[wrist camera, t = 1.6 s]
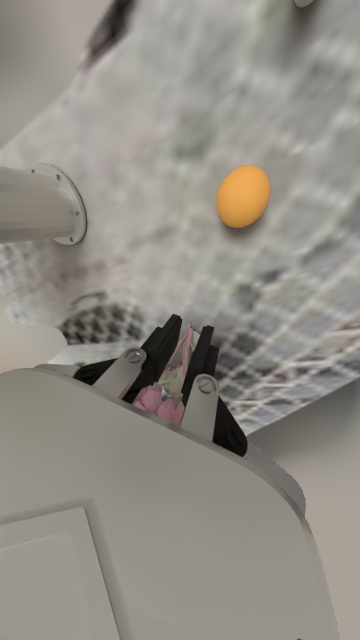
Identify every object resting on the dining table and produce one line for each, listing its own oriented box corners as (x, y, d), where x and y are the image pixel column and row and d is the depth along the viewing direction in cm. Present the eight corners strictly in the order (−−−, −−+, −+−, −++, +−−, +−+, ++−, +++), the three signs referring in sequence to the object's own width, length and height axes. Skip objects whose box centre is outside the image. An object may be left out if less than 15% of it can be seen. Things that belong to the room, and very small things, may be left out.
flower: (121, 325, 41) (71, 453, 27) (193, 290, 27) (167, 513, 13) (175, 354, 52) (160, 454, 39) (245, 340, 39) (259, 486, 25)
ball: (214, 222, 24) (206, 223, 20) (227, 168, 21) (222, 154, 16) (255, 230, 23) (257, 234, 18) (276, 175, 20) (285, 162, 15)
